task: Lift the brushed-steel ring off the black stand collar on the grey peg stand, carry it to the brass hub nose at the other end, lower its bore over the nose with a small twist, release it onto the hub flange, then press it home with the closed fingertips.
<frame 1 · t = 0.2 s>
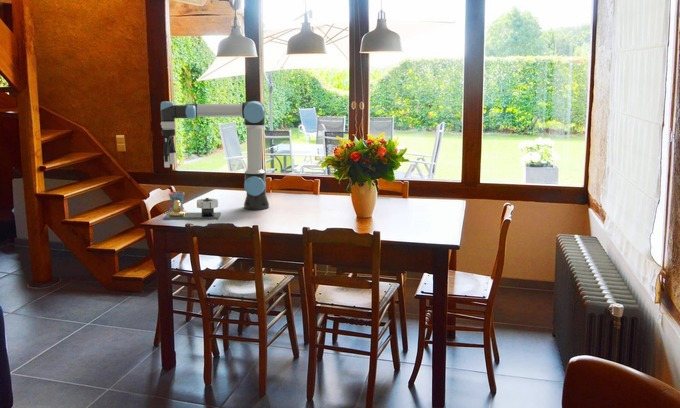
hand: (169, 165, 389), 28 cm above the table, fingers open, 13 cm apart
grey peg stand: (192, 216, 383), on the table
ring: (207, 206, 383), point 6 cm above the table, touching grey peg stand
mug: (178, 210, 402), on the table
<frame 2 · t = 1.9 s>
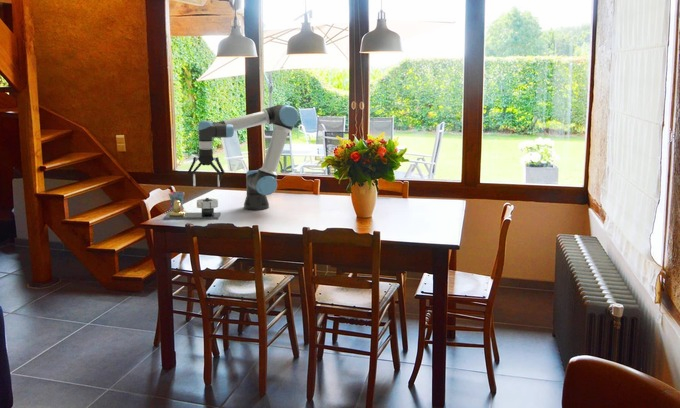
hand: (206, 186, 380), 18 cm above the table, fingers open, 13 cm apart
nothing on the table moved.
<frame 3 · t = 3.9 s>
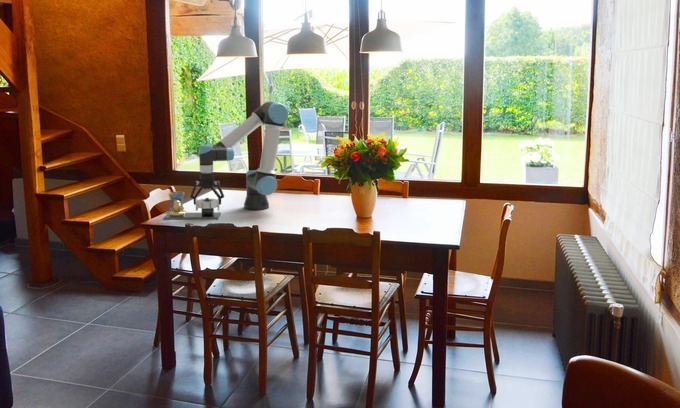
hand: (207, 210, 383), 4 cm above the table, fingers closed on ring, 11 cm apart
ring: (207, 206, 383), point 6 cm above the table, touching grey peg stand, gripper
everything else where it was.
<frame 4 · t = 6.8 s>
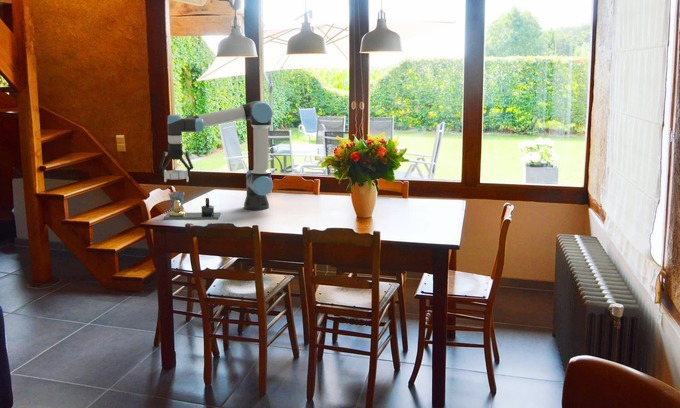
hand: (176, 181, 379), 20 cm above the table, fingers closed on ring, 11 cm apart
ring: (176, 177, 378), point 22 cm above the table, touching gripper
everything else where it was.
when the fingers open (3 cm above the table, at t = 10.0 s): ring drops 2 cm, resting on grey peg stand.
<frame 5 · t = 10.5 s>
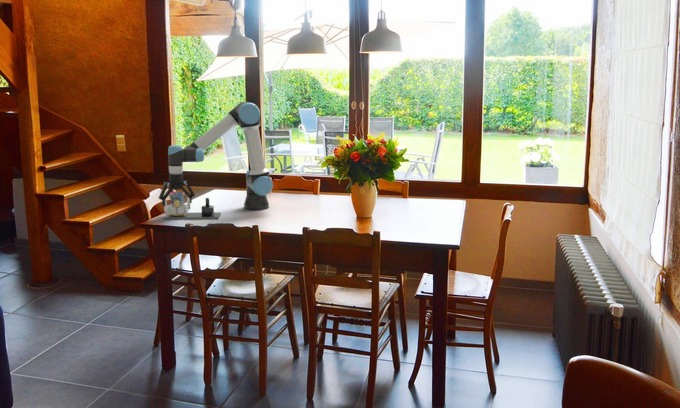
hand: (177, 210, 382), 4 cm above the table, fingers open, 13 cm apart
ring: (177, 211, 382), point 3 cm above the table, touching grey peg stand
everything else where it was.
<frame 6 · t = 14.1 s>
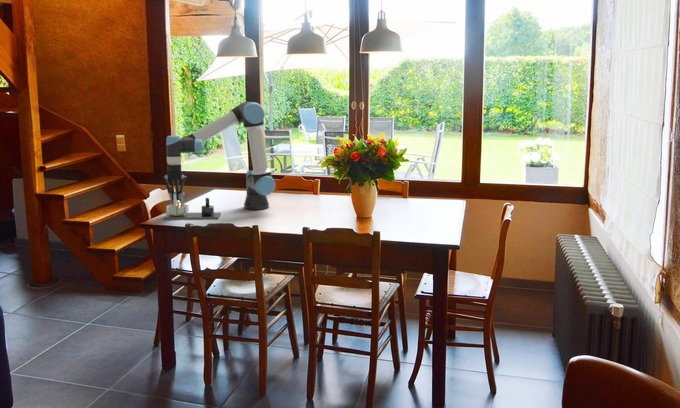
hand: (175, 205, 377), 7 cm above the table, fingers closed
nothing on the table moved.
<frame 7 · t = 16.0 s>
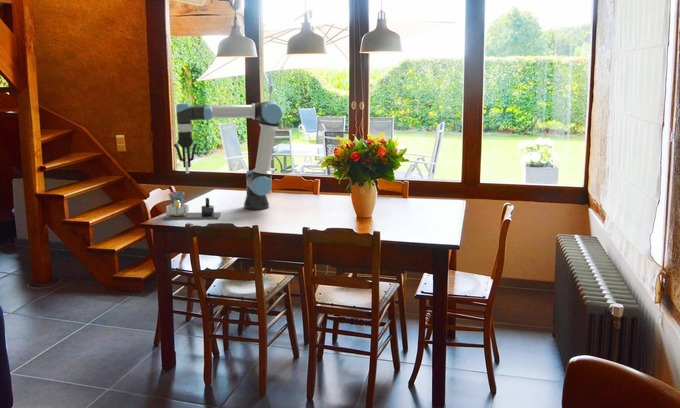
hand: (187, 172, 382), 25 cm above the table, fingers closed
nothing on the table moved.
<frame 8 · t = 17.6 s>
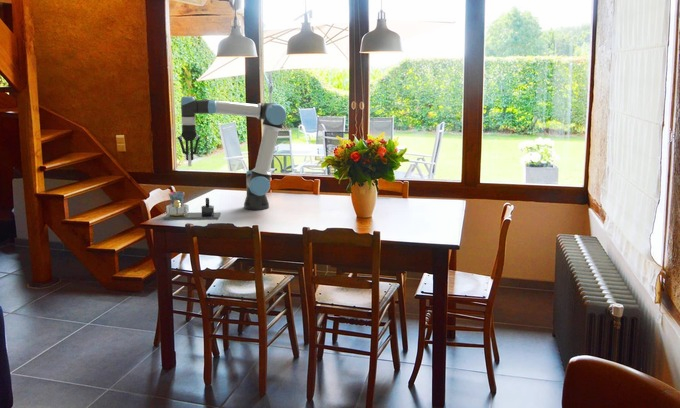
hand: (190, 165, 384), 28 cm above the table, fingers closed
nothing on the table moved.
at the end: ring 0.1 cm from the target spot on the grey peg stand, point 3.0 cm above the grey peg stand's base; the gripper is holding nothing; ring tilted 0° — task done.
